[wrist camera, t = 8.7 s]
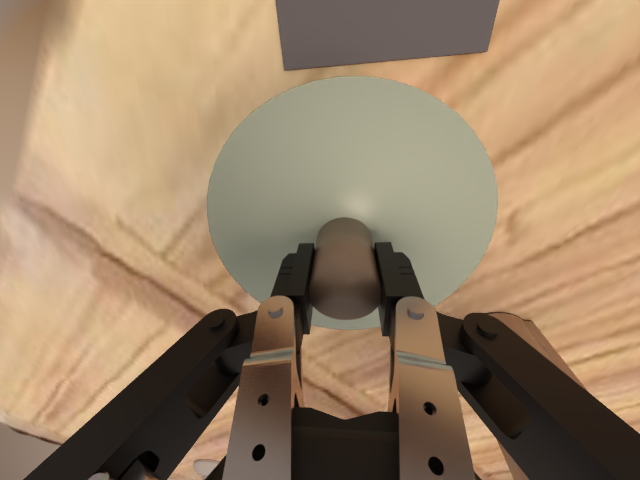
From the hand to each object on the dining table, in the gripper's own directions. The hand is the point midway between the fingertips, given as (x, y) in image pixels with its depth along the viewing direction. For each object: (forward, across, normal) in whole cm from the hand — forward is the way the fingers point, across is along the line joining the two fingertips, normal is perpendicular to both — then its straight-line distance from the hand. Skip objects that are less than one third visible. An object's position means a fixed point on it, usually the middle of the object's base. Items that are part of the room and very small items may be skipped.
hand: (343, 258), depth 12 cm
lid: (+2, 0, 0) cm, 2 cm away
